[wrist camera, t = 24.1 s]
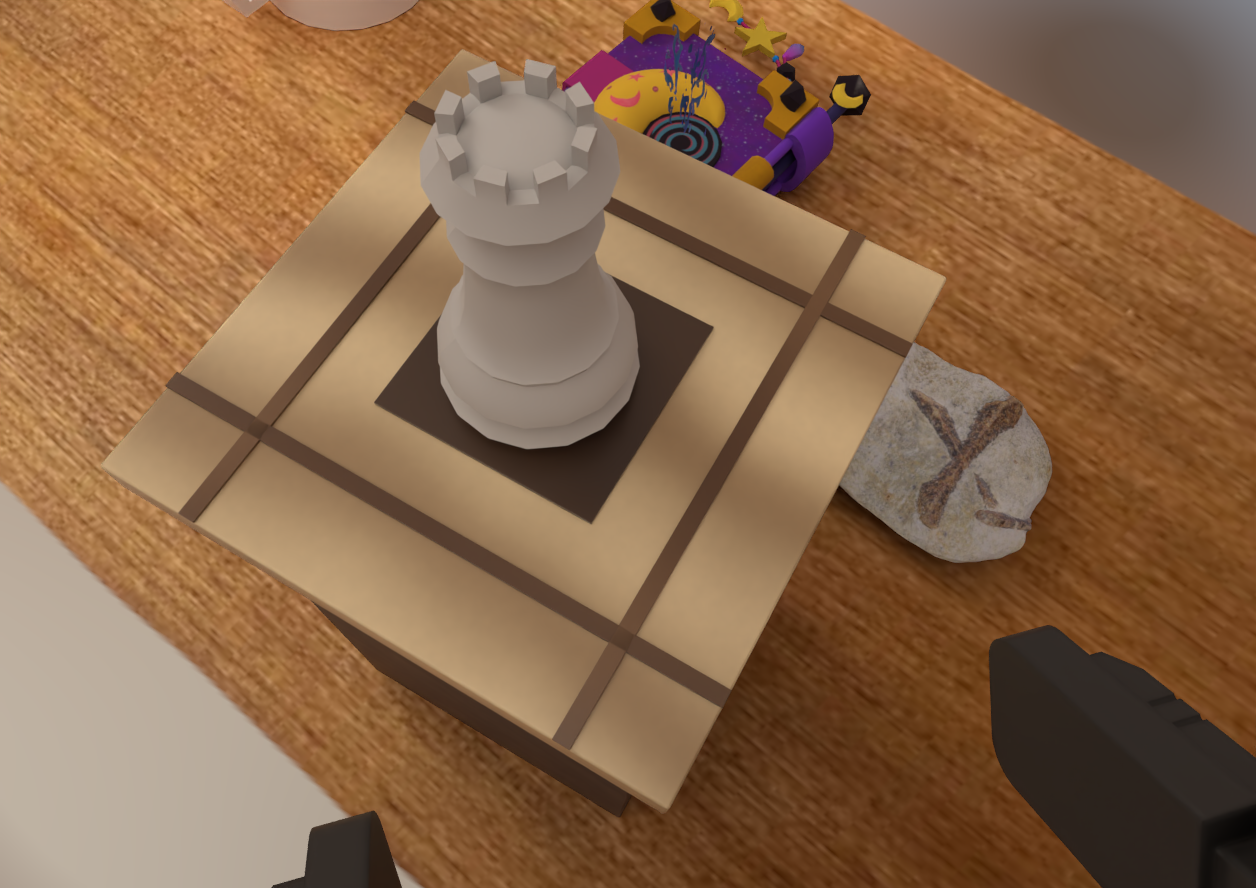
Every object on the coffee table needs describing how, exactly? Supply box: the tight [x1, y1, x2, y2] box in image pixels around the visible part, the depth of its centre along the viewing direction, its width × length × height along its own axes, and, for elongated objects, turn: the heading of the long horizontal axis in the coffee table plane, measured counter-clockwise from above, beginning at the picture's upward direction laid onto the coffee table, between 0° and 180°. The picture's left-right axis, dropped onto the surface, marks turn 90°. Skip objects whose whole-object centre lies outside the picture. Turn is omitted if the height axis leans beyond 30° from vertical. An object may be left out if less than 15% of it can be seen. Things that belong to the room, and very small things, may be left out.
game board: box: [101, 50, 946, 814], centre depth 23 cm, size 14×14×1 cm
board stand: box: [312, 601, 632, 817], centre depth 34 cm, size 12×12×22 cm
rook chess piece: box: [420, 59, 640, 449], centre depth 19 cm, size 4×4×8 cm
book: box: [562, 0, 871, 196], centre depth 48 cm, size 15×25×12 cm, turn 139°
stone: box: [839, 342, 1052, 563], centre depth 46 cm, size 12×9×3 cm
